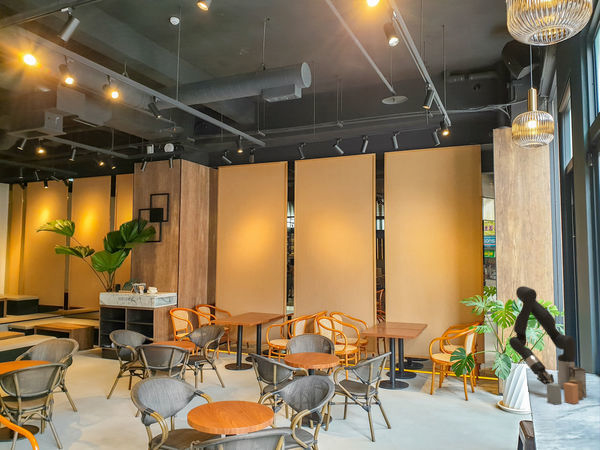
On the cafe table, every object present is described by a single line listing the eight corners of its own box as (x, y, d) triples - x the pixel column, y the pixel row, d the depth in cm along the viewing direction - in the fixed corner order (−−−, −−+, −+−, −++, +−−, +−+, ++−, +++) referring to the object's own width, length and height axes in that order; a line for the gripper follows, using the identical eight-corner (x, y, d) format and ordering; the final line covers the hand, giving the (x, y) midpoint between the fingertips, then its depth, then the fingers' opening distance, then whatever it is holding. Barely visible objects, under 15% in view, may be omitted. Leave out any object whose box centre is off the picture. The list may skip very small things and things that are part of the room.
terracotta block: (564, 401, 258) (563, 383, 259) (569, 400, 260) (569, 382, 261) (573, 403, 253) (572, 385, 254) (578, 402, 256) (577, 384, 257)
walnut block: (569, 398, 265) (568, 380, 266) (574, 397, 268) (573, 379, 269) (577, 400, 261) (576, 382, 262) (582, 399, 263) (581, 381, 264)
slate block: (547, 402, 256) (546, 383, 257) (553, 401, 258) (552, 383, 260) (555, 404, 252) (555, 385, 253) (561, 403, 254) (560, 385, 255)
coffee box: (569, 393, 277) (568, 366, 279) (581, 393, 276) (579, 366, 278) (575, 397, 268) (574, 369, 270) (587, 397, 267) (585, 369, 269)
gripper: (531, 361, 272) (552, 387, 260) (545, 360, 279) (566, 385, 266) (524, 369, 276) (544, 394, 264) (538, 367, 283) (558, 392, 271)
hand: (555, 389), depth 265 cm, fingers closed
